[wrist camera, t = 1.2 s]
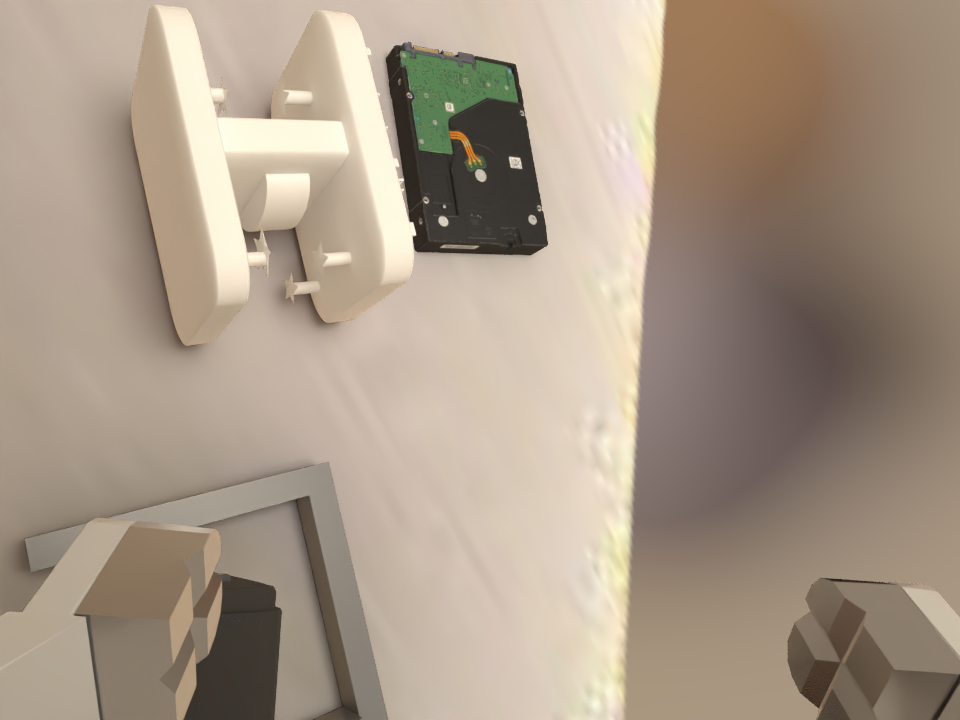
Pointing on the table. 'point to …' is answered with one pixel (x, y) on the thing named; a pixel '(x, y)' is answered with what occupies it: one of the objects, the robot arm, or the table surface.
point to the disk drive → (465, 153)
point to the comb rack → (328, 559)
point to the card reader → (240, 656)
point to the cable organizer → (268, 175)
